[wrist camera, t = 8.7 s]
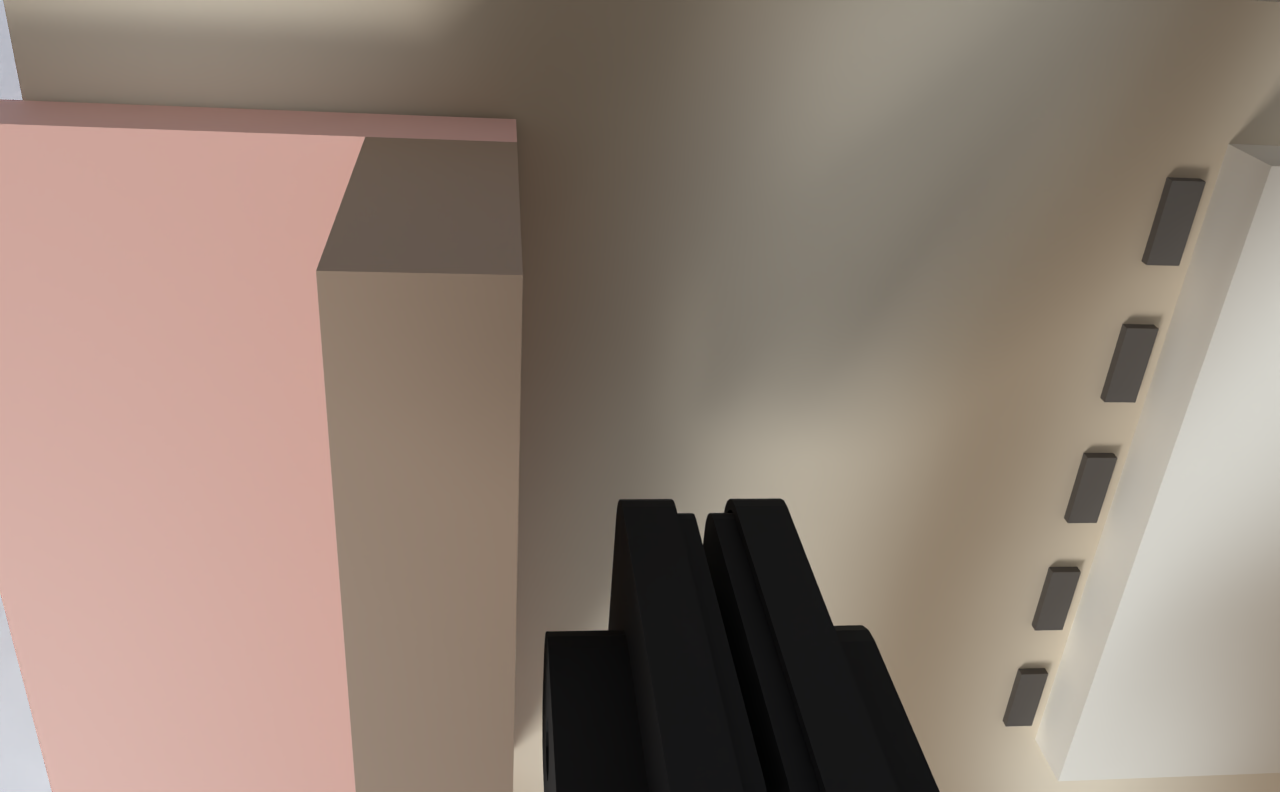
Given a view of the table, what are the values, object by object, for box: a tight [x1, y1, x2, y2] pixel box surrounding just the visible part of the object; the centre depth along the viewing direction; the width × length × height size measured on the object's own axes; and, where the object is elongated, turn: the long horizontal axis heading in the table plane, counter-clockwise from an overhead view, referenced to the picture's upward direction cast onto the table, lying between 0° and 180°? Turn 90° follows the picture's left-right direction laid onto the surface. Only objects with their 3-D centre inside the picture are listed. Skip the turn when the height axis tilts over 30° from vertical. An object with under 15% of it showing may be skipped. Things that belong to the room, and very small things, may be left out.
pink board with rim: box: [0, 100, 523, 792], centre depth 11 cm, size 6×9×4 cm, turn 176°
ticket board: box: [3, 0, 1280, 792], centre depth 15 cm, size 22×12×2 cm, turn 86°
